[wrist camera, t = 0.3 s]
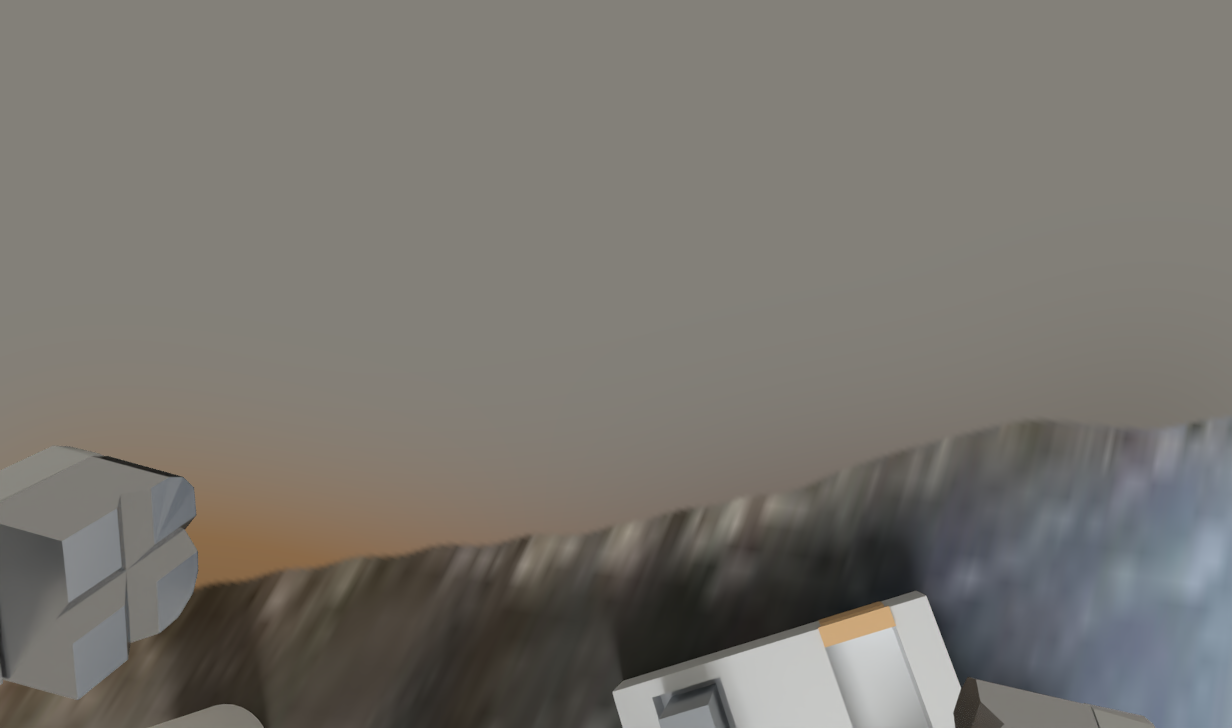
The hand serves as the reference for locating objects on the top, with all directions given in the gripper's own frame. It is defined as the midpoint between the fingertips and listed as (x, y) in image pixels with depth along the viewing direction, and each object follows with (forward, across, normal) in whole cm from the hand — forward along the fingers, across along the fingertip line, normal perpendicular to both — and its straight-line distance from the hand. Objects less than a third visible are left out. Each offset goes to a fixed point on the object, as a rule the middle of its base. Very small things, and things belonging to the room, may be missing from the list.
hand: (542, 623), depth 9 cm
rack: (+42, +7, -34) cm, 55 cm away
